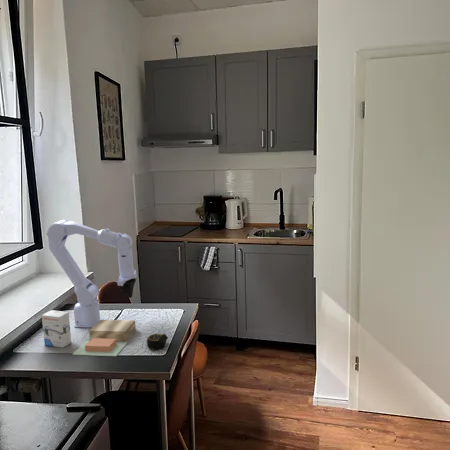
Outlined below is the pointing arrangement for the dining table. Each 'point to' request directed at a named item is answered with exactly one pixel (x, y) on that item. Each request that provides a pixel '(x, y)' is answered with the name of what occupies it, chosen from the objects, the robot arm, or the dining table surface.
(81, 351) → the mat
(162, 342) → the tape measure
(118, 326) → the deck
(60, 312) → the ink box
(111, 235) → the robot arm
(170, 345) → the dining table surface
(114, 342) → the block
